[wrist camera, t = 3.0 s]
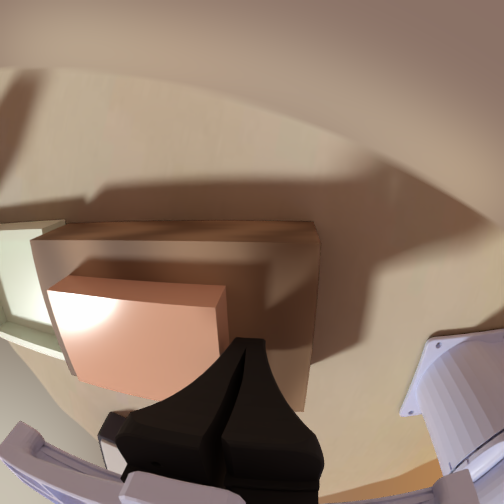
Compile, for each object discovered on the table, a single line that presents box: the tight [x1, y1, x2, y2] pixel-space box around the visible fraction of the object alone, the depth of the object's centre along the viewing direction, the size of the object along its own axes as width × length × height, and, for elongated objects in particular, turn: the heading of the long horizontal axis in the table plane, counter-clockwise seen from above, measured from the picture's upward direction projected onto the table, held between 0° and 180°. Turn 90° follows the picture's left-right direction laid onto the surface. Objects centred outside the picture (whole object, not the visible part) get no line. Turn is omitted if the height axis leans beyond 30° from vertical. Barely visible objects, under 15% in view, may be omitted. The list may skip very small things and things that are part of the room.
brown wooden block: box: [30, 220, 321, 412], centre depth 16 cm, size 16×10×4 cm, turn 91°
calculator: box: [98, 412, 127, 475], centre depth 24 cm, size 11×4×15 cm
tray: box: [0, 219, 66, 361], centre depth 19 cm, size 13×11×2 cm
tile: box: [47, 275, 229, 401], centre depth 14 cm, size 9×6×2 cm, turn 91°
